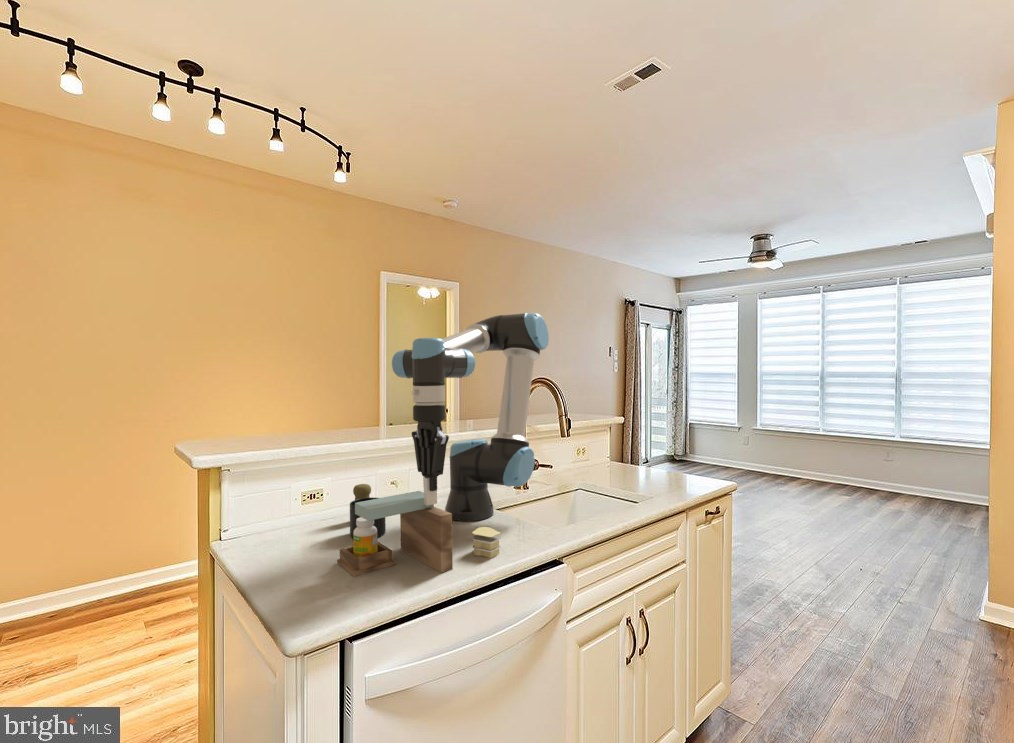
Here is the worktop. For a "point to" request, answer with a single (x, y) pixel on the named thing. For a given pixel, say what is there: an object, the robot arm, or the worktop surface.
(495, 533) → the pale yellow layered block
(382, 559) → the brown wooden square tray
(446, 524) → the wall
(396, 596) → the worktop surface
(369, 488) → the cork
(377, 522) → the mug
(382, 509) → the plank
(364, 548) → the supplement bottle
